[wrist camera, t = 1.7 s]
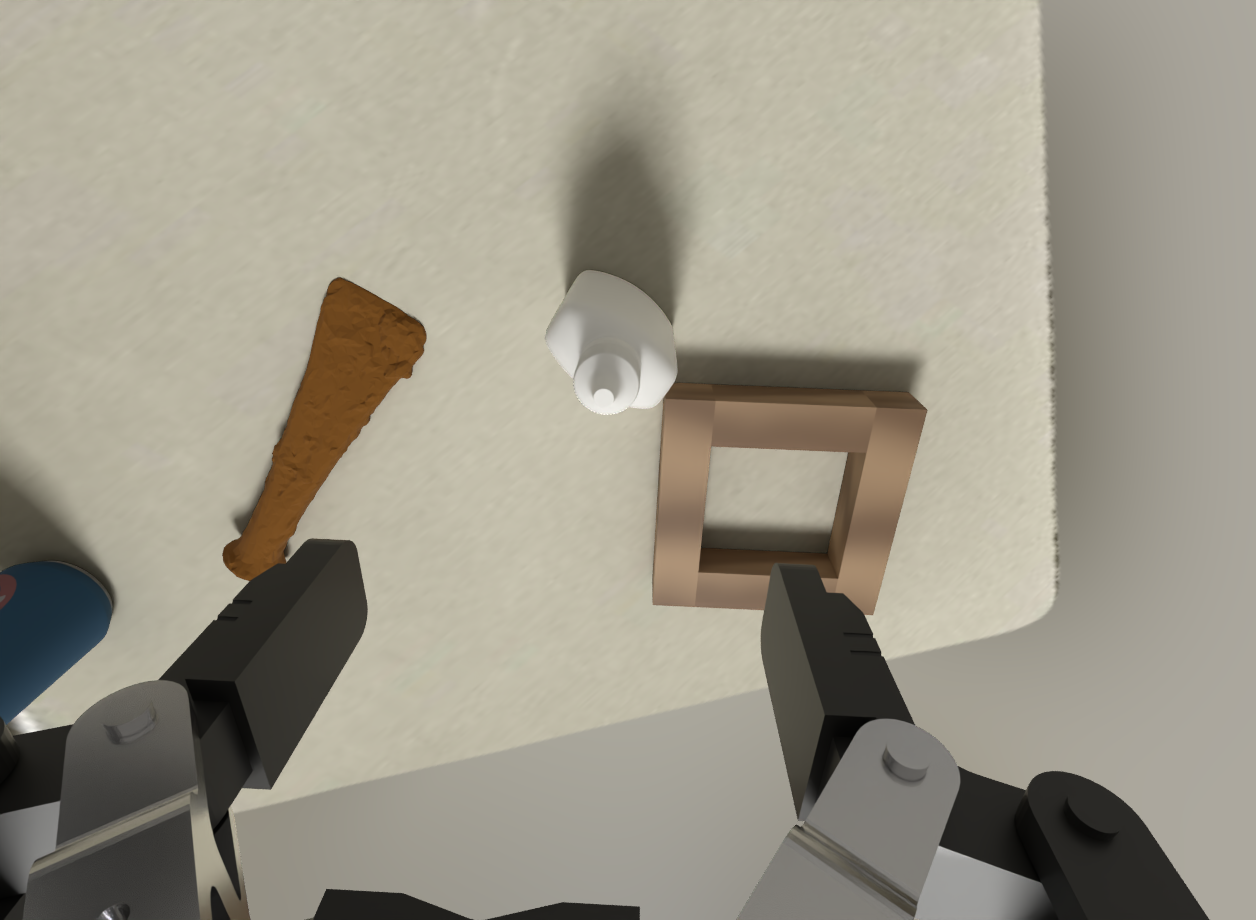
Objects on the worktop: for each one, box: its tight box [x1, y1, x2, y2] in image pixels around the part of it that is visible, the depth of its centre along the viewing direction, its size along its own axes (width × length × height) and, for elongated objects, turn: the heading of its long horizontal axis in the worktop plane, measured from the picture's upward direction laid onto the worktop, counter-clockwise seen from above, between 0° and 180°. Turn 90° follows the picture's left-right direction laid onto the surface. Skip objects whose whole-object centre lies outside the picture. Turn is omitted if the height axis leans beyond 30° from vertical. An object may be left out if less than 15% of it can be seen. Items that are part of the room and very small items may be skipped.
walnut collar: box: [652, 383, 927, 615], centre depth 35 cm, size 13×13×2 cm
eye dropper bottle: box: [545, 270, 678, 415], centre depth 26 cm, size 4×6×12 cm
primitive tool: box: [222, 278, 426, 581], centre depth 35 cm, size 19×6×4 cm, turn 149°
